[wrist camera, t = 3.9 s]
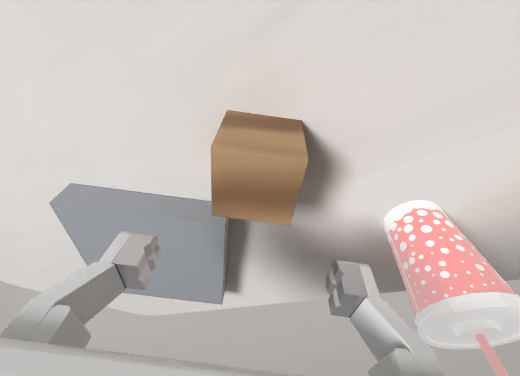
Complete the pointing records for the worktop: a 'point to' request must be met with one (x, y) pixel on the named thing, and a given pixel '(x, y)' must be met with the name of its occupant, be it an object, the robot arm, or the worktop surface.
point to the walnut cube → (257, 167)
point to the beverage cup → (451, 283)
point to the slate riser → (154, 224)
